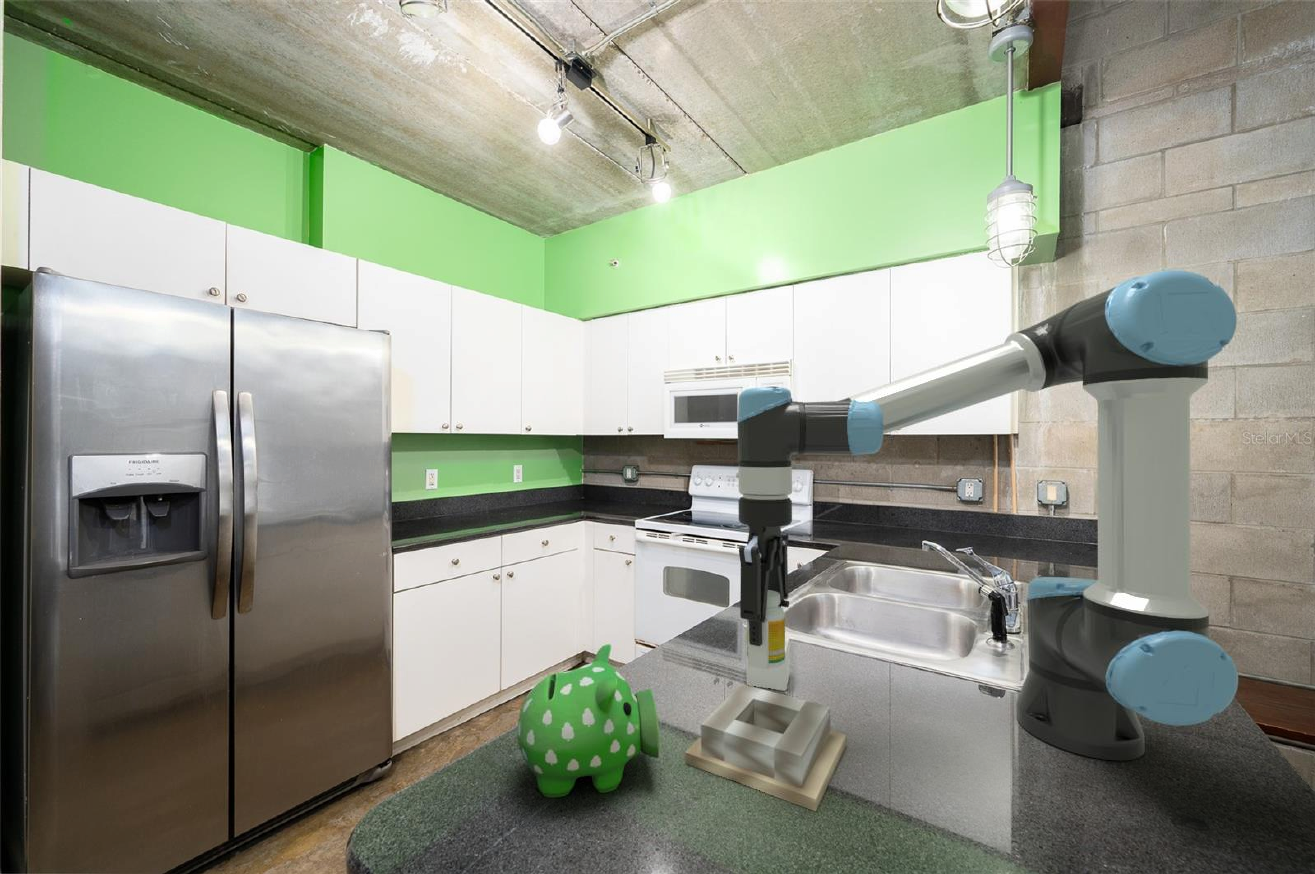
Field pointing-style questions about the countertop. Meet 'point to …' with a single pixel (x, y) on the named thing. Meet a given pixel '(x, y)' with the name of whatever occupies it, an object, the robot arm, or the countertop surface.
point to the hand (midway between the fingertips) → (766, 658)
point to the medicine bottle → (770, 674)
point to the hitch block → (770, 745)
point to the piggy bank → (586, 727)
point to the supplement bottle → (774, 629)
